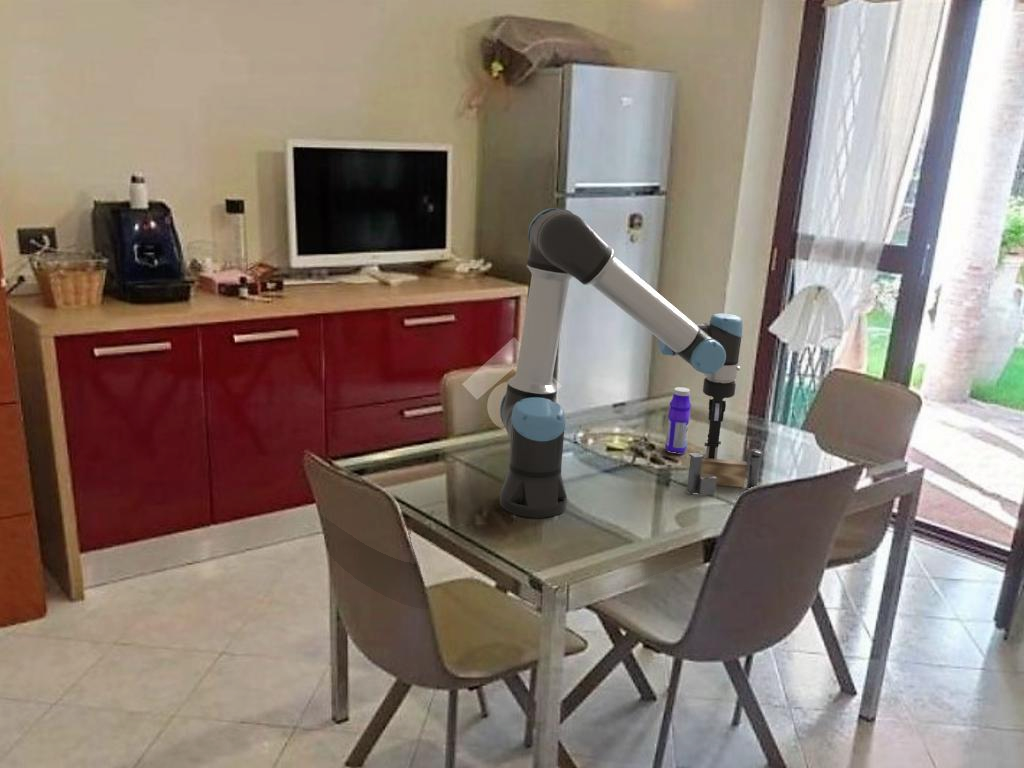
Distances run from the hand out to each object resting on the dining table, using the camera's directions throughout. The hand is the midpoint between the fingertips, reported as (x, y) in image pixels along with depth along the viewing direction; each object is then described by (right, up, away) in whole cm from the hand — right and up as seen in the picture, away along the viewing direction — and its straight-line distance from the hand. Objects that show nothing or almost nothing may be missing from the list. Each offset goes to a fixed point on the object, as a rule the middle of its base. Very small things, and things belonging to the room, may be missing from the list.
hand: (709, 469), depth 220 cm
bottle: (-5, +3, +19) cm, 20 cm away
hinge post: (+9, -4, -3) cm, 11 cm away
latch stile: (-4, -5, -8) cm, 10 cm away
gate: (+1, -3, -3) cm, 4 cm away
